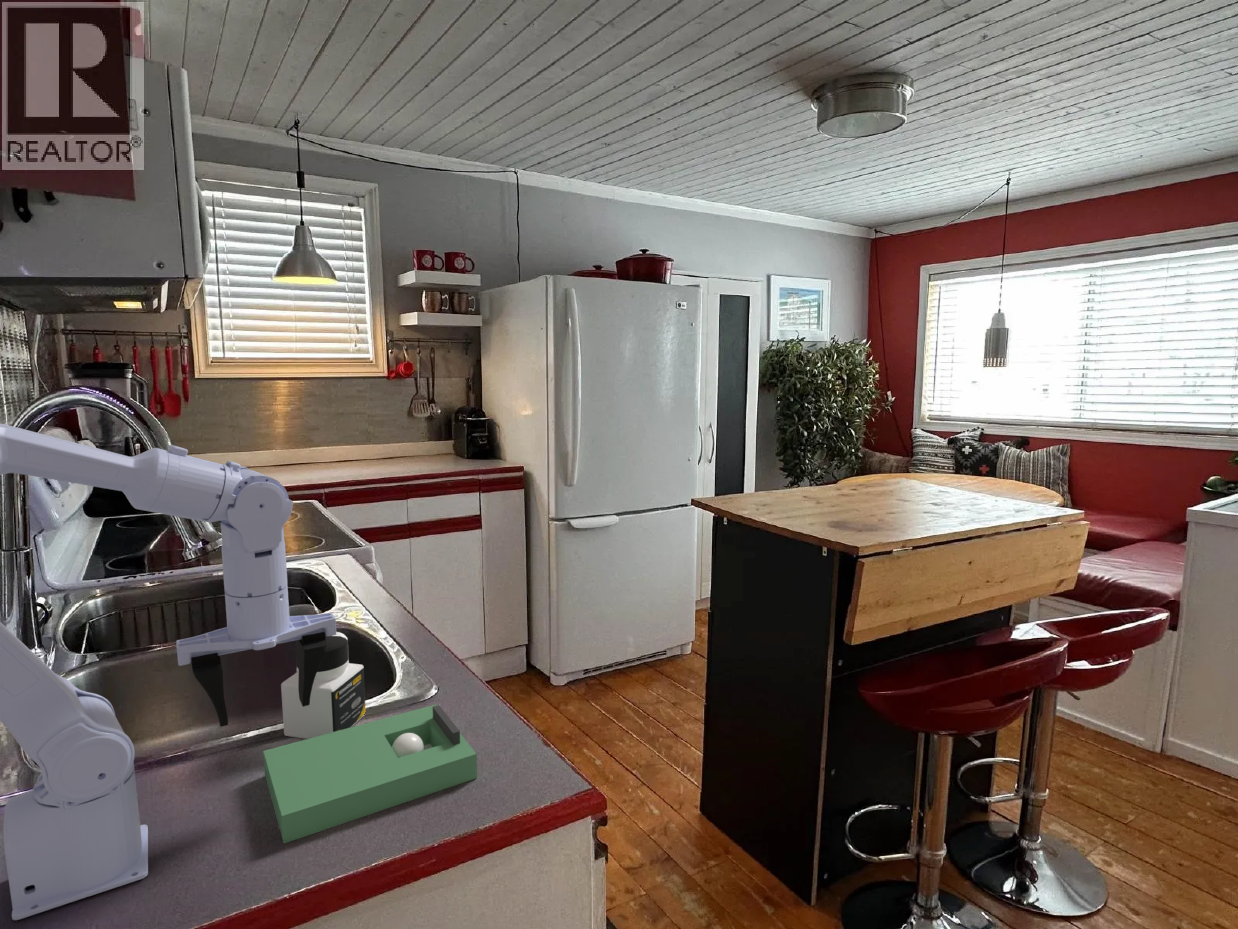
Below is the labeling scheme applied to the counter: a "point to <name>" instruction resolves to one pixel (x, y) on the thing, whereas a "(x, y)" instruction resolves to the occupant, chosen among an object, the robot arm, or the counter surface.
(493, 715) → the counter surface
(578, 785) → the counter surface
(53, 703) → the robot arm
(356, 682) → the medicine bottle
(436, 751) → the green pocketed block
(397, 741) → the ball
